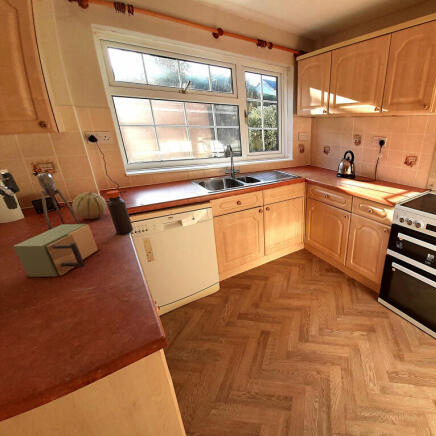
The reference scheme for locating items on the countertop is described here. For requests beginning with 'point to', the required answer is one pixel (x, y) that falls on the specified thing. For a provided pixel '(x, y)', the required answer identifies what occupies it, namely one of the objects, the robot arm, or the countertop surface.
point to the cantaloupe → (89, 205)
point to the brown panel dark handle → (65, 254)
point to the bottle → (119, 213)
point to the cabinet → (36, 247)
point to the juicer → (52, 196)
